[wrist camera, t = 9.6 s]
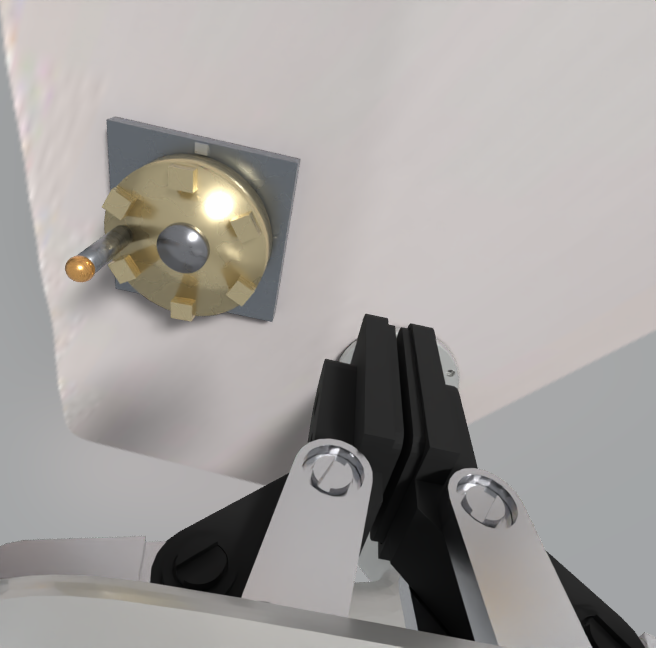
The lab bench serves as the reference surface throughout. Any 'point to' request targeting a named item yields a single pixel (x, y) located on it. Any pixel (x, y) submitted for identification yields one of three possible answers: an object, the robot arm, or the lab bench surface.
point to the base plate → (252, 164)
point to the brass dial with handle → (183, 236)
